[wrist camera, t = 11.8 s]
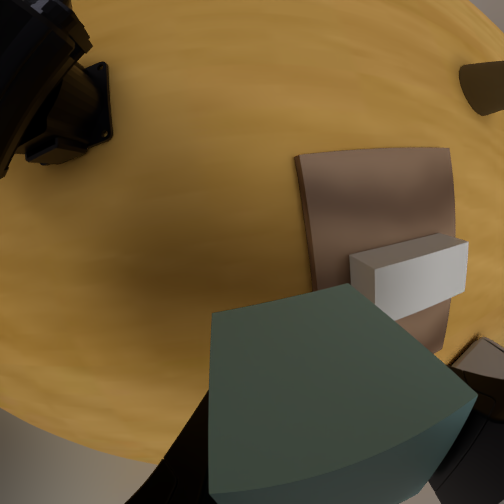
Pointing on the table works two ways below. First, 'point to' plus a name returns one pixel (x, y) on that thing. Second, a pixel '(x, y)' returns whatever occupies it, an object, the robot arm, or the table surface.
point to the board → (376, 214)
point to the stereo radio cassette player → (483, 359)
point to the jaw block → (326, 404)
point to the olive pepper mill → (483, 86)
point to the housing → (411, 273)
